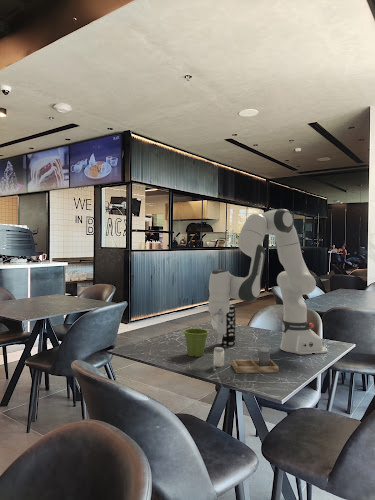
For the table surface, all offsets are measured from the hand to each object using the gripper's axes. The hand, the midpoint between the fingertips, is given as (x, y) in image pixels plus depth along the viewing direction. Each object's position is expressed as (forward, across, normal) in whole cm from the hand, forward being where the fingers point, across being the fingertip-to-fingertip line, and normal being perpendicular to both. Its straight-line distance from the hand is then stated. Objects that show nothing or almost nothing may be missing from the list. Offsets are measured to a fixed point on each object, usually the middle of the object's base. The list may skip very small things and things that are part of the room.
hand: (217, 340), depth 159 cm
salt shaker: (+11, 0, -1) cm, 11 cm away
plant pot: (+12, +18, +7) cm, 23 cm away
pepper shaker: (+10, -5, -19) cm, 22 cm away
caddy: (+11, -5, -15) cm, 19 cm away
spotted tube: (+11, +36, -10) cm, 39 cm away
